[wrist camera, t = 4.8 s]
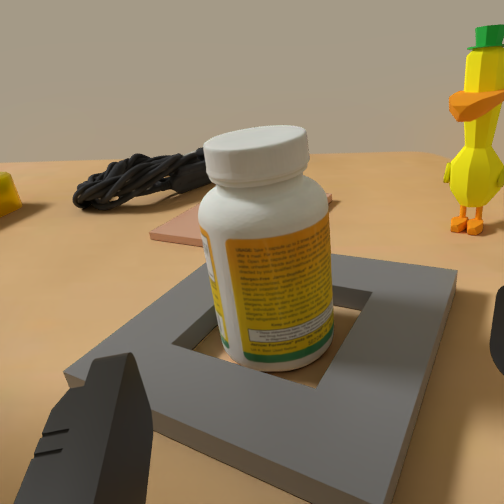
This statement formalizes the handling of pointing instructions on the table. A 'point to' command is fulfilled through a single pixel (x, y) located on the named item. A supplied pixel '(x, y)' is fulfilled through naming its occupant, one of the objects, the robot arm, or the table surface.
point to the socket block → (294, 394)
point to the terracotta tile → (185, 228)
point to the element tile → (8, 195)
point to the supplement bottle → (267, 248)
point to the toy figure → (478, 129)
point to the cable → (142, 179)
